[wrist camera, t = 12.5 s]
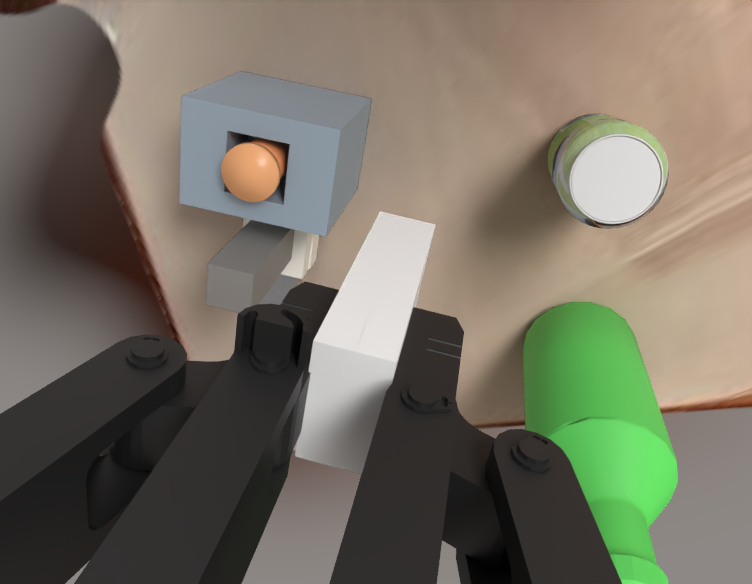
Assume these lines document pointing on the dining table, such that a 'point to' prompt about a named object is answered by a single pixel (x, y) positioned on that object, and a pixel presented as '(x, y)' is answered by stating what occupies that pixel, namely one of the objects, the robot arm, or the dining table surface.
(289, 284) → the rail
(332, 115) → the housing
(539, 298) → the dining table surface
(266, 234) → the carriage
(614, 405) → the bottle
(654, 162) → the beverage can
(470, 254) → the dining table surface
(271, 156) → the plunger
